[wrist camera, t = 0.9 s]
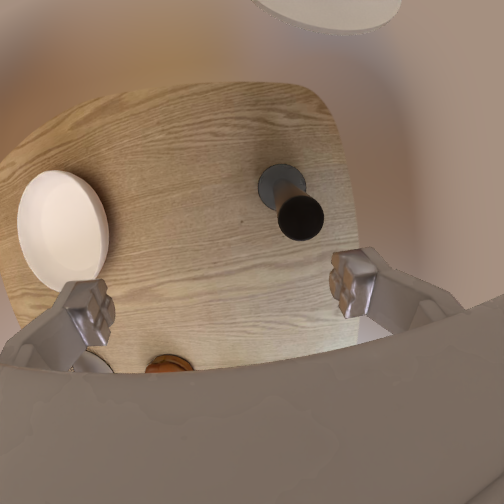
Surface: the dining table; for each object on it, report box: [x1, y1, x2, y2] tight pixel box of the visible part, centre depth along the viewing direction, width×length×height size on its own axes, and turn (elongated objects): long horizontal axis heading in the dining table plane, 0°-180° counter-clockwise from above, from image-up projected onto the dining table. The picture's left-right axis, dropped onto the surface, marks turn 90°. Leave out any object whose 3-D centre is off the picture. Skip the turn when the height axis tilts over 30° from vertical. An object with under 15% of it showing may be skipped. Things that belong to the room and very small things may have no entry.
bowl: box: [17, 170, 109, 292], centre depth 38 cm, size 20×20×6 cm
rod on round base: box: [258, 164, 324, 241], centre depth 26 cm, size 6×6×24 cm
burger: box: [145, 355, 193, 373], centre depth 46 cm, size 10×9×5 cm
